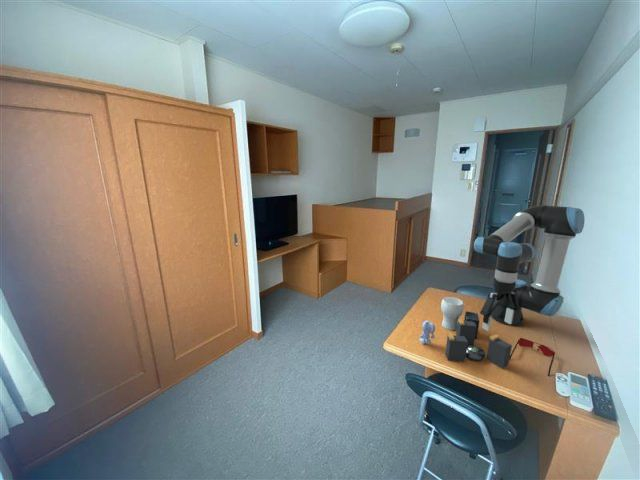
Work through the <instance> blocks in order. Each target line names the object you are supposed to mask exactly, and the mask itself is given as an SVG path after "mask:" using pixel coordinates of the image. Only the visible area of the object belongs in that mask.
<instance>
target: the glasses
mask: <svg viewBox="0 0 640 480" xmlns="http://www.w3.org/2000/svg"><path fill="white" fill-rule="evenodd" d="M534 344H536V345H537V347H538V348H537V351H538V352H539V351H540V352H541V353H542V354H543V355H544V356H546V357H552V358H551V361H550V364H549V368H548V372H547V377H550V374H551V369H552V366H553V362H554V358H555V355H556V352H555V350H554V349H553V348H551V347H549V346H546V345H545V344H540V343H537V342H534V341H532V340H529V339H526V338H523V337H520V338H519V339H518V340H517V342H516V344H515V346H514V347H513V349H512V350H511V354H510V359H509V361H511V358H512V356H513V354H514V352H515V350H516V348H517V346H518V345H519V347H522V348H523V347H526V348H530V349H533V348H534Z"/></svg>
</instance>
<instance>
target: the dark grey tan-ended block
mask: <svg viewBox="0 0 640 480" xmlns="http://www.w3.org/2000/svg"><path fill="white" fill-rule="evenodd" d="M512 347H513V345H512V344H510V343H509V342H507V341H504V340H503V339H501V338H500V336H499V335H497V334H496V333H495V334H493V335H490V336H489V339H488V347H487V351H486V355H485V358H486V360H488V361H489V362H491V363H493V365H495V366H497V367H499V368H501V369H505V368H506V367H508V366H509V362H510V360H511V359H510V355H511V353H512ZM509 359H510V360H509Z"/></svg>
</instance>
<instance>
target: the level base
mask: <svg viewBox="0 0 640 480" xmlns="http://www.w3.org/2000/svg"><path fill="white" fill-rule="evenodd" d="M485 358H486V352H485V350H484V348H482V347H480V346H479V345H476V344H475V343H474V344H469V343H468V344H467V351H466V358H465V360H468V361H472V362H476V363H478V362H479V363H481V362H483V361H484V360H485Z"/></svg>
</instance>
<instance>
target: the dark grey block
mask: <svg viewBox="0 0 640 480" xmlns="http://www.w3.org/2000/svg"><path fill="white" fill-rule="evenodd" d="M467 344H468V341H467V340H466V338H465V336H456V334H453V333H452V332H447V337H446V345H445V357H446V360H447V361H452V362H461V363H465V362H466V351H467Z"/></svg>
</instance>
